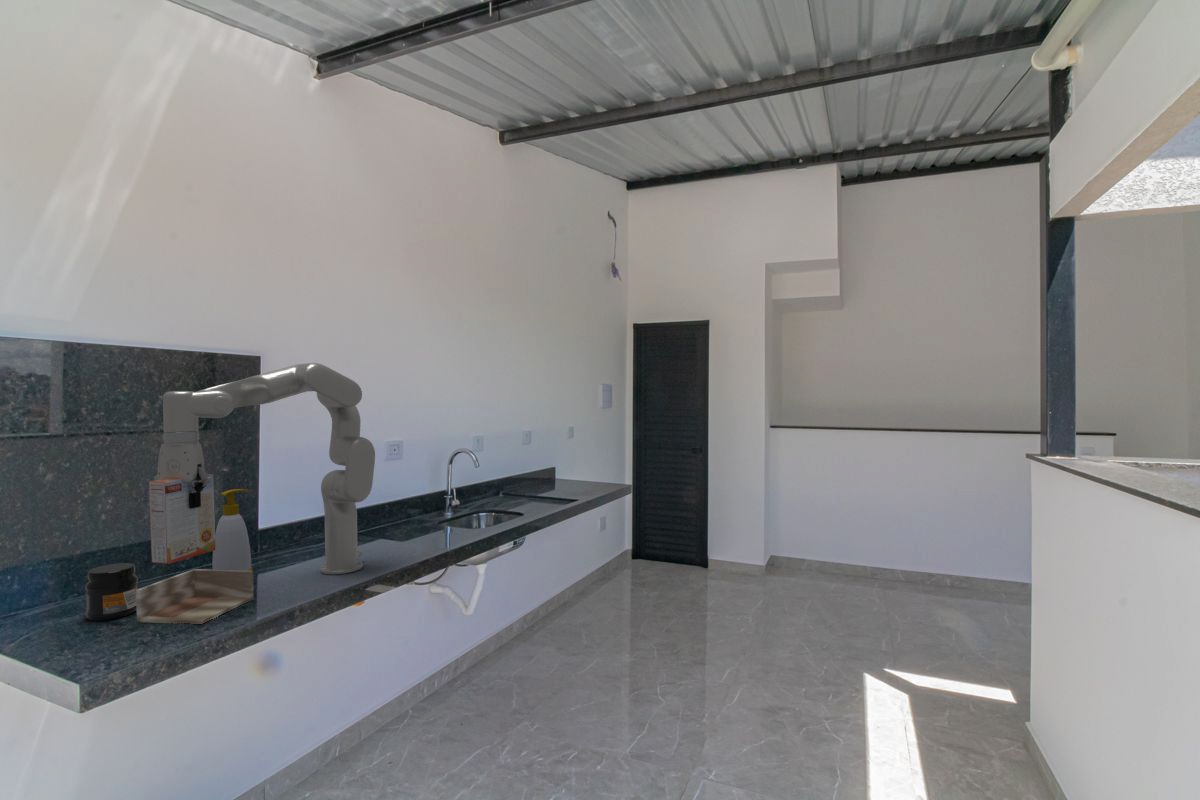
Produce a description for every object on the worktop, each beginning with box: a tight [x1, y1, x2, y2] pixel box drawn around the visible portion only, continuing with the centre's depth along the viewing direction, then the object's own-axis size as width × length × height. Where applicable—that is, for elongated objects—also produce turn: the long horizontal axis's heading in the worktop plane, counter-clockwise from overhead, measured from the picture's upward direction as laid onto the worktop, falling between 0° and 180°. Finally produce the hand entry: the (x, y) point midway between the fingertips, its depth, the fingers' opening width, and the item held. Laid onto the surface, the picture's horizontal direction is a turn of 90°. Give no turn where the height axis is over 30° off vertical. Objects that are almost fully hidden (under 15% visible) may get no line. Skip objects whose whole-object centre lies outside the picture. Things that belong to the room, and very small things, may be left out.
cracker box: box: [148, 473, 216, 565], centre depth 161 cm, size 14×6×21 cm, turn 164°
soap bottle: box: [212, 488, 254, 571], centre depth 193 cm, size 11×12×26 cm
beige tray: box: [136, 568, 254, 625], centre depth 161 cm, size 18×18×8 cm
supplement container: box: [85, 562, 139, 622], centre depth 158 cm, size 10×10×12 cm
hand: (182, 506), depth 161 cm, fingers closed on cracker box, 6 cm apart
